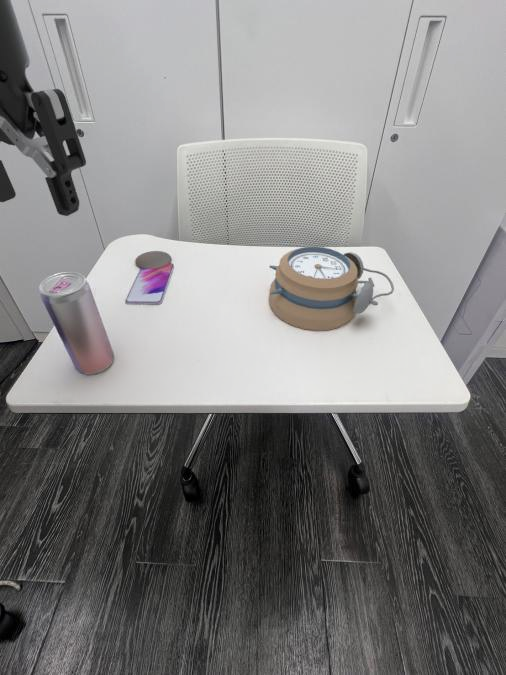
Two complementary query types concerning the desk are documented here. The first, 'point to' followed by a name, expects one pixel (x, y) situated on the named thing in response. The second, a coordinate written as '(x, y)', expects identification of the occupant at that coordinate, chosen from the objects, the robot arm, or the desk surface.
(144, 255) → the coaster
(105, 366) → the beverage can
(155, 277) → the smartphone
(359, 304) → the alarm clock
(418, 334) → the desk surface
